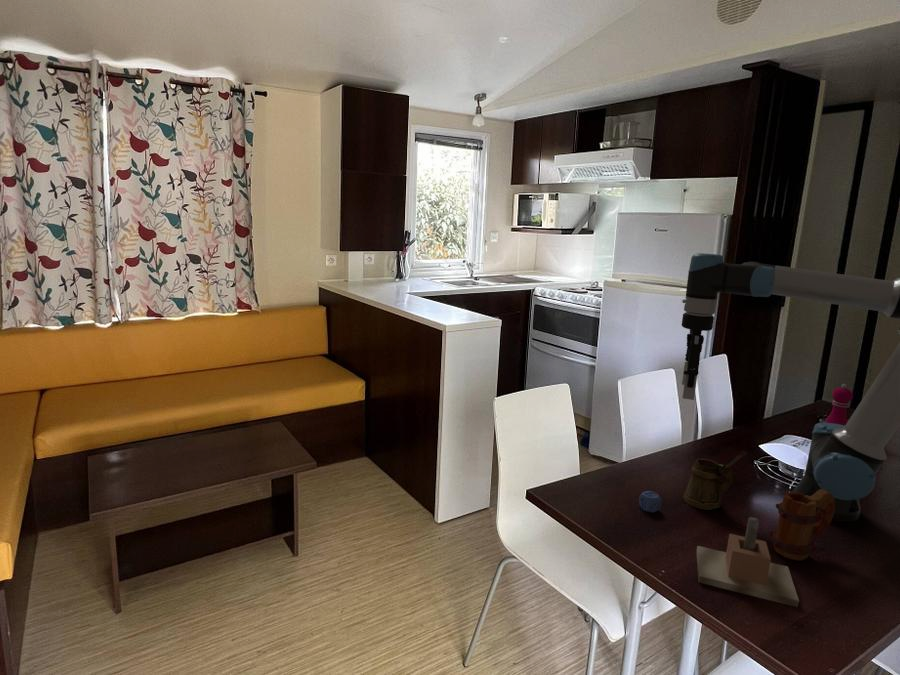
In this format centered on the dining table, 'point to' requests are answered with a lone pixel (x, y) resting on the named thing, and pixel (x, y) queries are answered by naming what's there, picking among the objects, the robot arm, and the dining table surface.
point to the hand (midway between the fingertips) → (687, 391)
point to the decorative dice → (650, 501)
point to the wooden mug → (708, 483)
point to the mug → (801, 523)
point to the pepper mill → (840, 405)
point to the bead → (747, 560)
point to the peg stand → (716, 575)
